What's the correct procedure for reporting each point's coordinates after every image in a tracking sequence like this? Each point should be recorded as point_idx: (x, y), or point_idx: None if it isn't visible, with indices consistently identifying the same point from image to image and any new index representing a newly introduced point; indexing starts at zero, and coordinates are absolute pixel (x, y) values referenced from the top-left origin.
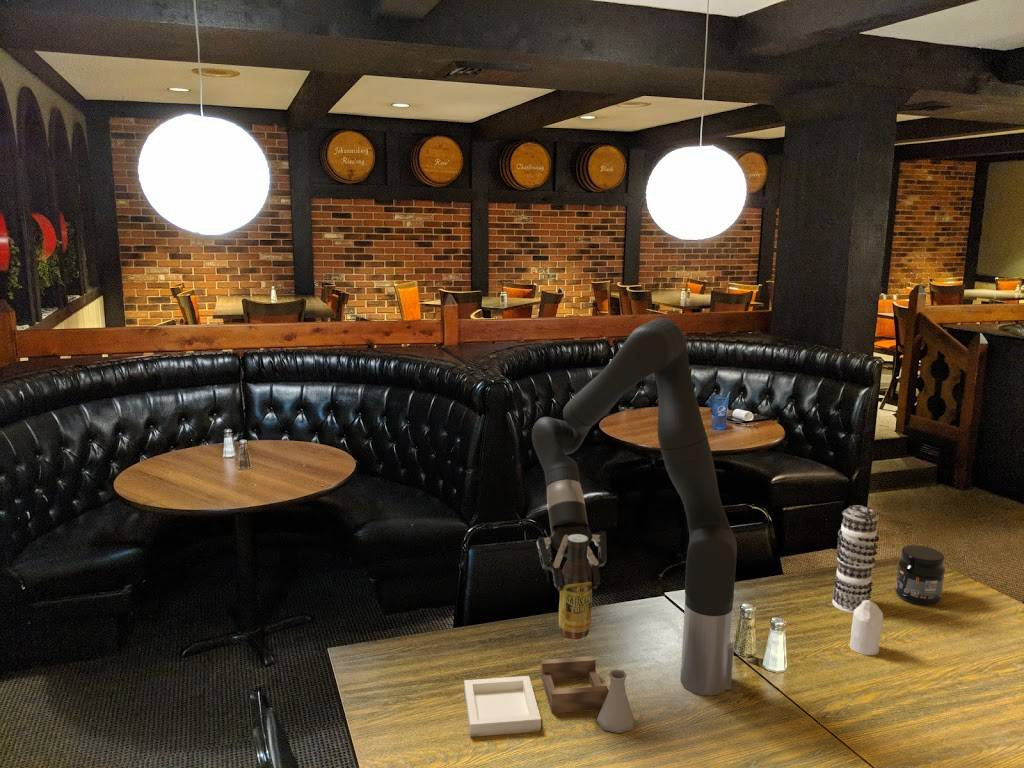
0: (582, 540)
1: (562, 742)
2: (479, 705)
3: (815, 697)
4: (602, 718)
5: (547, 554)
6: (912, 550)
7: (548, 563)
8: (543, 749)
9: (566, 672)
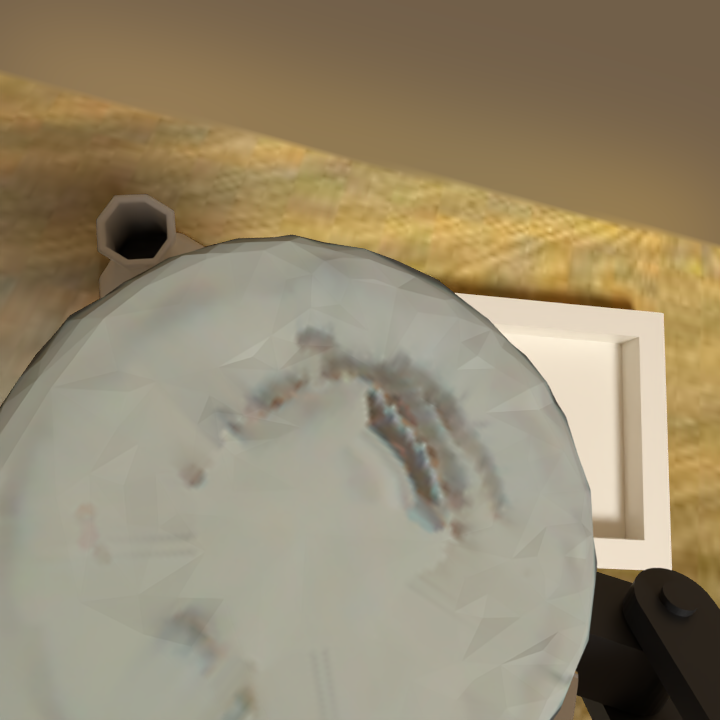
0: (219, 319)
1: (373, 238)
2: (607, 459)
3: None
4: None
5: (712, 709)
6: None
7: (649, 589)
8: (436, 222)
9: None
